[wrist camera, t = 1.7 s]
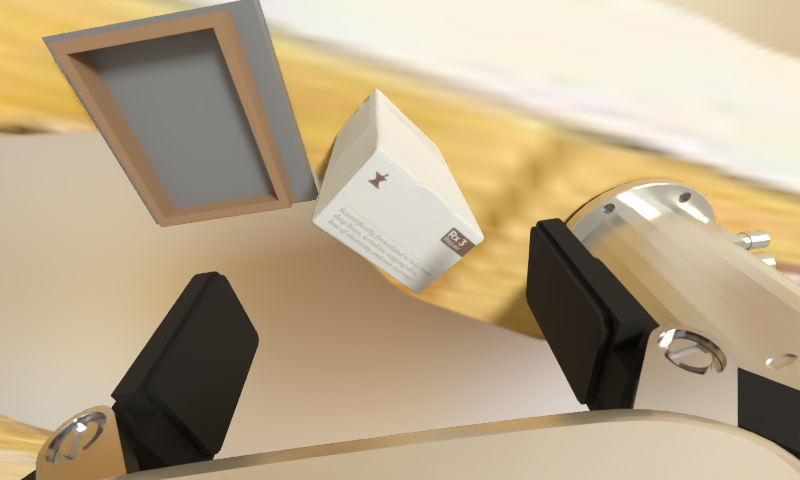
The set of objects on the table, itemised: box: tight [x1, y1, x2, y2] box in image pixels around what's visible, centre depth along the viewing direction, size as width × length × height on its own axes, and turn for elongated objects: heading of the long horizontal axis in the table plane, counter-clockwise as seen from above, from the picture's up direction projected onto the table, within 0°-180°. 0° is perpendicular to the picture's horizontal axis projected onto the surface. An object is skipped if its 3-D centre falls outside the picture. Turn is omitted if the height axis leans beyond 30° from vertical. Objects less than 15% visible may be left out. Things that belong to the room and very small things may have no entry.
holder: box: [42, 0, 318, 227], centre depth 22 cm, size 12×12×2 cm
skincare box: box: [312, 89, 484, 294], centre depth 19 cm, size 6×4×12 cm
